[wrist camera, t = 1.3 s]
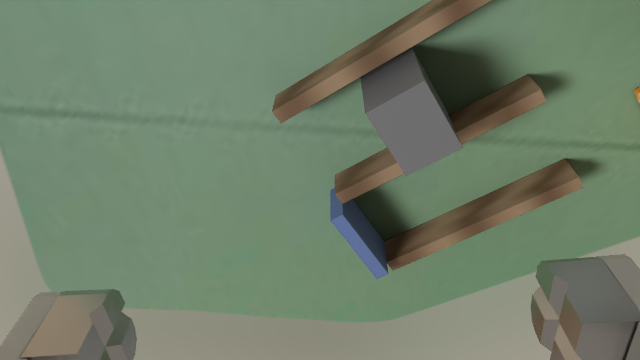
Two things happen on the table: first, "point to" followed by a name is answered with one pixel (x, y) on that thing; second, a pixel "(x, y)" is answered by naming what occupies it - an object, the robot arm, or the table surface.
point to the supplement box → (637, 94)
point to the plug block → (408, 112)
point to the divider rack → (346, 216)
